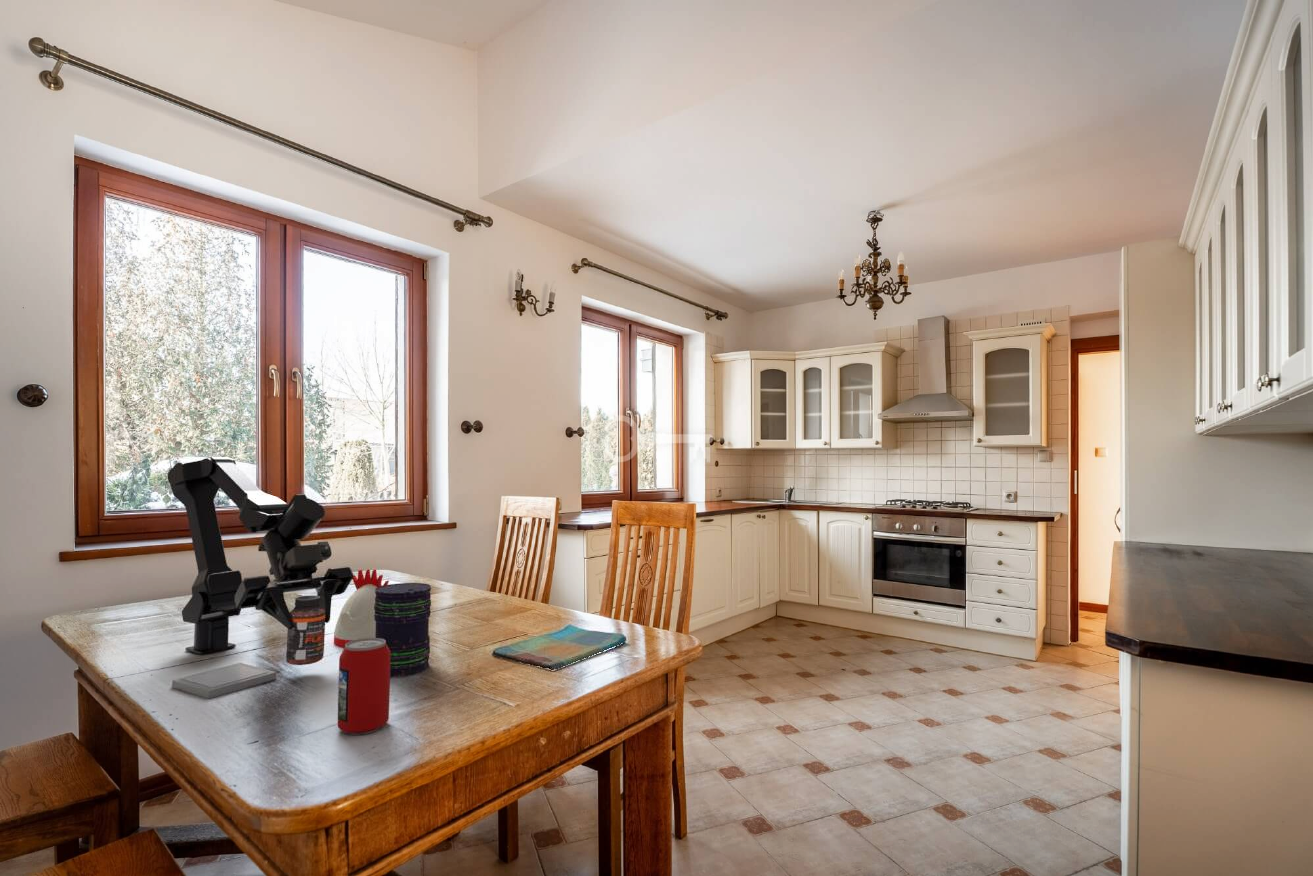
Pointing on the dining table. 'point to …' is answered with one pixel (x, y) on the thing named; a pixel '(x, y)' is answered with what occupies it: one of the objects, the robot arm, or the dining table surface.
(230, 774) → the dining table surface
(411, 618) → the dark blue cylinder
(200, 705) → the dining table surface
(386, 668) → the beverage can
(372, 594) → the kitchen timer
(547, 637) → the dish towel
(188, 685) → the plate
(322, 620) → the supplement bottle
